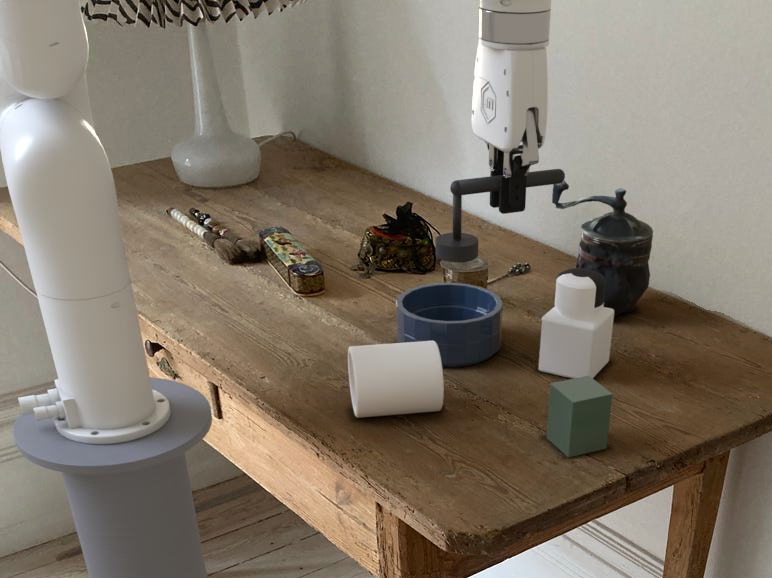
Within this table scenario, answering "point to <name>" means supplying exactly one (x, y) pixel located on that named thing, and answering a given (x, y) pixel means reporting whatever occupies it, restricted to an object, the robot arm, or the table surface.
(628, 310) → the coffee grinder
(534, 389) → the table surface
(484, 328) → the bowl
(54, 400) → the robot arm
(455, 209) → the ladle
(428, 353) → the mug
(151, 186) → the table surface
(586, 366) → the medicine bottle
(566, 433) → the green rectangular block
